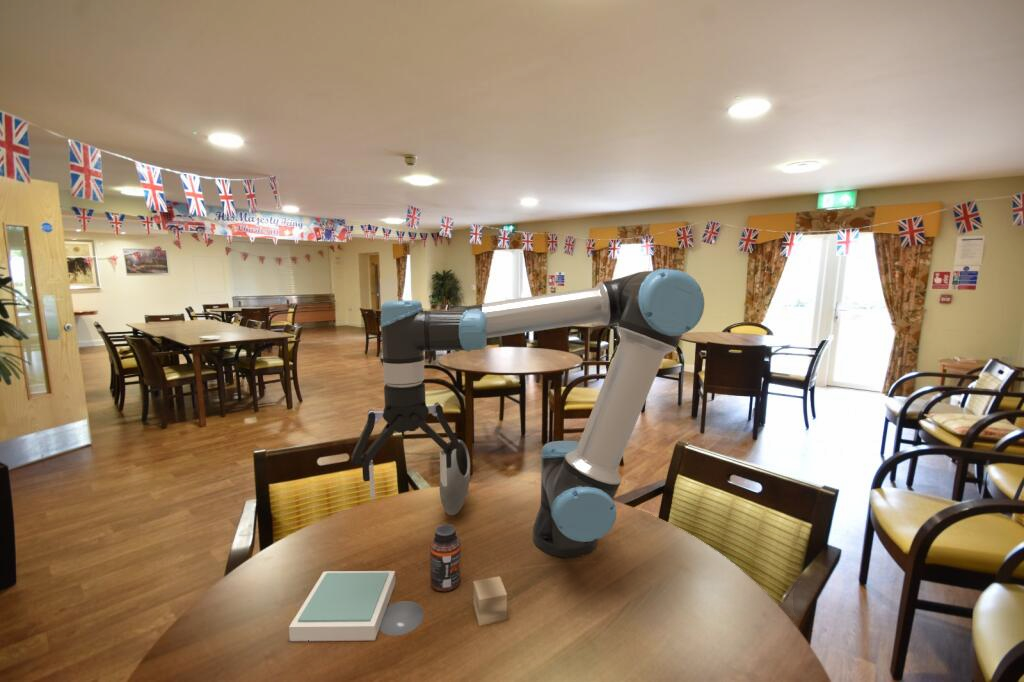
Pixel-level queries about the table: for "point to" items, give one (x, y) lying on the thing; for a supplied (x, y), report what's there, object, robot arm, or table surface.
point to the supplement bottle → (445, 559)
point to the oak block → (490, 600)
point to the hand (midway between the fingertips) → (409, 489)
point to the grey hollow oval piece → (456, 481)
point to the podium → (344, 607)
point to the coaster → (401, 618)
